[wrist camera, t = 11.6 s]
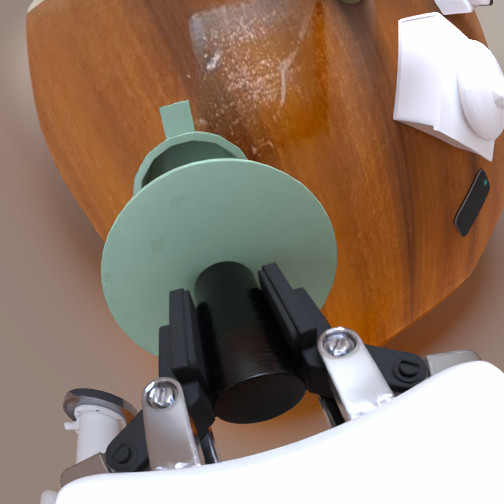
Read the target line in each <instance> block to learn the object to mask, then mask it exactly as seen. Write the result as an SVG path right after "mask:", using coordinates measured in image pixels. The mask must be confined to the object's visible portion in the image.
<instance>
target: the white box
mask: <svg viewBox="0 0 504 504" xmlns="http://www.w3.org/2000/svg"><path fill="white" fill-rule="evenodd" d="M393 120H396V121H398V122H401V123H403V124H406V125H408V126H411V127H413V128H416V129H418V130H420V131H423V132H425V133H427V134H429V135H432V136H434V137H436V138H438V139H440V140H442V141H444V142H446V143H448V144H450V145H452V146H454V147H457V148H461V149H464V150H467V151H470V152H474V153H477V154H479V155H480V156H482V157H484V158H485V159H487V160H488V161H491V162H492V156H493V149H494V142H495V139H496V138H497V137H498V136H499V135H500V134H501V133H502V131H503V129H504V77H503V74H502V71H501V69H500V66H499V64H498V63H497V61H496V59H495V58H494V56H493V55H492V53H491V52H490V51H489V50H488V49H487V48H486V47H485V46H484V45H483V44H482V43H480V42H478V41H475V40H469V39H468V38H467V37H466V36H465V35H464V34H463V33H462V32H461V31H460V30H458V29H457V28H456V27H455V26H454V25H453V24H452V23H450V22H449V21H448V20H447V19H446V18H444V17H443V16H442V15H441V14H439V13H437V12H434V13H428V14H423V15H418V16H413V17H409V18H404V19H400V20H399V48H398V71H397V86H396V97H395V106H394V115H393Z"/></svg>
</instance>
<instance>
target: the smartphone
mask: <svg viewBox="0 0 504 504" xmlns="http://www.w3.org/2000/svg"><path fill="white" fill-rule="evenodd" d="M489 189H490V185H489V181H488V179H487V176H486V173H485V171H484V170H482V169H481V170H479V172H478V174H477V176H476V178H475V180H474V182H473V184H472V186H471V188H470V190H469V192H468V194H467V196H466V198H465V200H464V202H463V204H462V206H461V208H460V209H459V211H458V213H457V215H456V217H455V225H456V227H457V229H458V231H459V233H460V235H461V236H463V237H464V236H466V235H467V233H468V232H469V230H470V228H471V226H472V225H473V223H474V221H475V219H476V217H477V215H478V213H479V211H480V209H481V207H482V205H483V203H484V201H485V199H486V197H487V195H488V193H489Z"/></svg>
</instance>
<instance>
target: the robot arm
mask: <svg viewBox="0 0 504 504" xmlns="http://www.w3.org/2000/svg"><path fill="white" fill-rule="evenodd" d="M258 275H259V281H260V286H261V291H262V293H263V295H264V297H265V299H266V301H267V304H268V306H269V308H270V310H271V312H272V314H273V316H274V318H275V320H276V322H277V324H278V326H279V328H280V330H281V333H282V335H283V337H284V339H285V341H286V343H287V345H288V347H289V349H290V351H291V353H292V355H293V357H294V359H295V361H296V363H297V365H298V368H299V370H300V372H301V374H302V376H303V378H304V380H305V382H306V390H308V391H309V392H310V393H314V394H317V397H318V399H319V402H320V405H321V407H322V410H323V413H324V415H325V418H326V420H327V423H328V425H329V428H330V429H329V430H327V431H325V432H322V433H319V434H317V435H314V436H312V437H309V438H306V439H304V440H301V441H298V442H295V443H292V444H289V445H286V446H283V447H279V448H276V449H273V450H270V451H266V452H262V453H259V454H255V455H251V456H247V457H243V458H239V459H234V460H229V461H224V462H222V460H221V457H220V454H219V451H218V448H217V445H216V442H215V439H214V436H213V432H212V429H211V427H210V426H211V425H212V424H213V422H214V421H215V417H217V416H216V414H215V413H214V411H213V408H212V403H211V397H210V392H209V387H208V381H207V375H206V369H205V364H204V357H203V351H202V345H201V338H200V331H199V324H198V317H197V310H196V307H195V305H194V302H193V300H192V297H191V294H190V292H189V290H186V291H184V289H183V288H180V289H176V290H173V291H170V292H169V325H165V326H161V327H160V328H159V378H157V379H155V380H153V381H151V382H150V383H149V384H148V385H147V386H146V387H145V388H144V391H143V393H142V410H141V411H140V412H139V413H138V414H137V415H136V416H135V417H134V418H133V419H132V420H131V421H130V422H129V423H128V424H127V423H126V420H125V419H124V418H123V417H122V416H121V415H120V414H119V413H117V412H115V411H113V410H111V409H108V408H105V407H102V406H98V405H91V404H84V405H80V406H77V407H76V408H75V411H74V416H75V418H76V419H77V420H76V421H74V423H72V422H66V423H65V428H66V429H67V430H74V429H75V432H76V433H78V442H77V454H76V464H75V465H73V466H71V467H69V468H67V469H65V470H64V471H63V473H62V475H61V480H60V481H61V486H62V489H61V490H60V491H59V493H58V492H55V491H50V490H47V491H44V492H43V493H42V496H41V500H40V504H504V373H502V372H501V371H500V370H499V369H498V368H497V367H495V366H494V365H492V364H490V363H488V362H485V361H481V359H480V357H479V356H478V354H477V353H476V352H474V351H472V350H459V351H453V352H446V353H439V354H431V355H426V357H425V358H421V357H419V356H418V355H415V354H412V353H408V352H402V351H397V350H391V349H386V348H381V347H376V346H371V345H366V344H364V343H363V342H362V340H361V339H360V337H359V336H358V334H357V333H356V332H355V331H353V330H351V329H349V328H345V327H335V328H331V326H330V325H329V323H328V322H327V320H326V319H325V317H324V316H323V314H322V313H321V312H320V310H319V309H318V307H317V306H316V304H315V303H314V301H313V300H312V299H311V297H310V296H309V294H308V293H307V291H306V290H305V289H304V288H303V287H300V288H297V289H294V290H293V289H292V287H291V286H290V284H289V282H288V281H287V279H286V278H285V276H284V275H283V273H282V272H281V270H280V269H279V267H278V265H277V264H276V263H275V262H274V263H270V264H267V265H263V266H262V270H259V271H258Z"/></svg>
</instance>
